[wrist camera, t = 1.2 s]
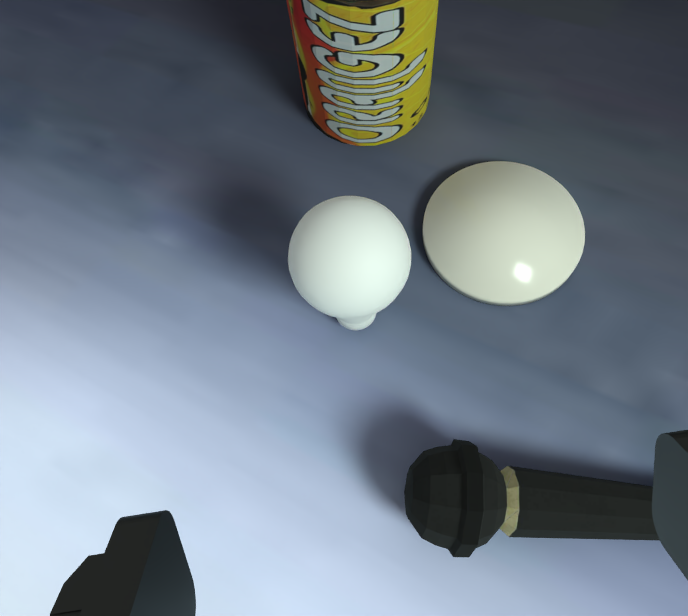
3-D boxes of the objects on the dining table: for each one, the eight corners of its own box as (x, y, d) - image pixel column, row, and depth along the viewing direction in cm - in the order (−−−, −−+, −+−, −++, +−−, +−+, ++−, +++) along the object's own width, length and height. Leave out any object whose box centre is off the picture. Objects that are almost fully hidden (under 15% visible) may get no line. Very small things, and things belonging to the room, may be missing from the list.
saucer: (556, 157, 42) (559, 150, 41) (601, 292, 38) (605, 286, 37) (409, 181, 42) (409, 174, 41) (439, 317, 38) (440, 313, 37)
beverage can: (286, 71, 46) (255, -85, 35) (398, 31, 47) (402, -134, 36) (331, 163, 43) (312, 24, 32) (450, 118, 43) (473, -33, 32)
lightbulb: (423, 298, 38) (437, 204, 28) (374, 381, 37) (370, 312, 26) (339, 255, 40) (324, 151, 30) (288, 333, 38) (252, 250, 28)
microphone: (736, 495, 36) (395, 466, 35) (801, 450, 32) (413, 416, 31) (774, 596, 33) (396, 565, 32) (852, 560, 28) (415, 524, 27)
